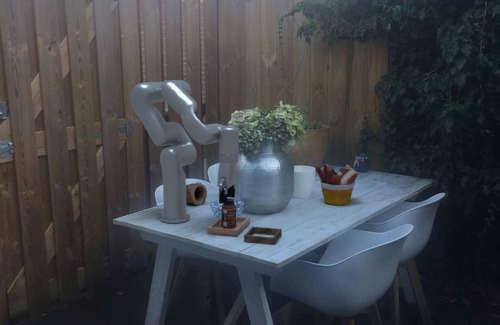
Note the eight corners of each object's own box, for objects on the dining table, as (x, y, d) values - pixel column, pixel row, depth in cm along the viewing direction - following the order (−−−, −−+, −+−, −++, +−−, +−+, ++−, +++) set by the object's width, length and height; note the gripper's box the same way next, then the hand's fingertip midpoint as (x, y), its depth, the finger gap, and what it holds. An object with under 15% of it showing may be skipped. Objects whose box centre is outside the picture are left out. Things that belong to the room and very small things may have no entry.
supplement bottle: (226, 230, 205) (226, 201, 203) (218, 226, 210) (218, 198, 207) (239, 227, 208) (239, 199, 206) (231, 223, 213) (230, 196, 211)
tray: (237, 236, 199) (236, 230, 198) (207, 234, 202) (207, 227, 202) (250, 223, 216) (250, 217, 215) (222, 221, 219) (222, 215, 219)
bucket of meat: (337, 196, 262) (338, 157, 258) (363, 203, 249) (364, 162, 245) (308, 202, 250) (309, 161, 246) (334, 209, 237) (335, 166, 233)
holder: (243, 241, 193) (243, 235, 193) (252, 232, 204) (252, 226, 204) (274, 244, 190) (274, 238, 190) (281, 235, 201) (281, 228, 201)
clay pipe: (175, 213, 244) (204, 205, 240) (167, 192, 243) (197, 184, 239) (188, 202, 262) (215, 195, 258) (181, 182, 261) (208, 174, 257)
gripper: (226, 153, 213) (224, 194, 217) (211, 161, 197) (210, 204, 200) (243, 155, 211) (242, 196, 215) (230, 162, 195) (229, 207, 198)
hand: (226, 200), depth 207 cm, fingers open, 9 cm apart
